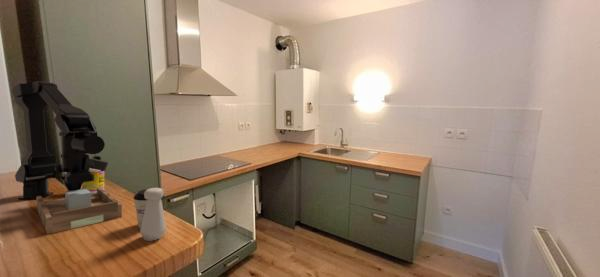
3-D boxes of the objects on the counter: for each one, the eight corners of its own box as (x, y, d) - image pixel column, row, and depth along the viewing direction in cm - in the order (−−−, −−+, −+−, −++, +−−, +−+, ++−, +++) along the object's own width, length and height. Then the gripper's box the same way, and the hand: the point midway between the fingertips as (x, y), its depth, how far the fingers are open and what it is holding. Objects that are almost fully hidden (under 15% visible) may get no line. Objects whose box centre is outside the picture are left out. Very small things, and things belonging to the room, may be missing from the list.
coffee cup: (137, 221, 73) (137, 188, 72) (163, 219, 76) (163, 187, 75) (129, 231, 67) (130, 195, 66) (158, 229, 69) (159, 194, 68)
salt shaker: (154, 244, 61) (154, 193, 60) (134, 241, 62) (134, 190, 61) (170, 234, 67) (171, 187, 66) (152, 230, 68) (153, 184, 67)
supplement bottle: (100, 194, 94) (100, 161, 93) (79, 195, 92) (78, 161, 91) (107, 189, 100) (107, 158, 99) (86, 189, 98) (86, 158, 97)
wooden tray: (36, 208, 78) (36, 193, 77) (100, 197, 90) (100, 184, 90) (47, 234, 63) (46, 215, 62) (121, 217, 75) (121, 201, 75)
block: (65, 205, 76) (65, 191, 76) (86, 201, 80) (86, 188, 80) (69, 210, 73) (69, 196, 72) (91, 206, 77) (91, 192, 76)
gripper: (114, 153, 79) (114, 200, 80) (98, 146, 90) (98, 187, 92) (66, 155, 70) (67, 208, 71) (55, 148, 82) (57, 193, 83)
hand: (75, 198), depth 79 cm, fingers closed
